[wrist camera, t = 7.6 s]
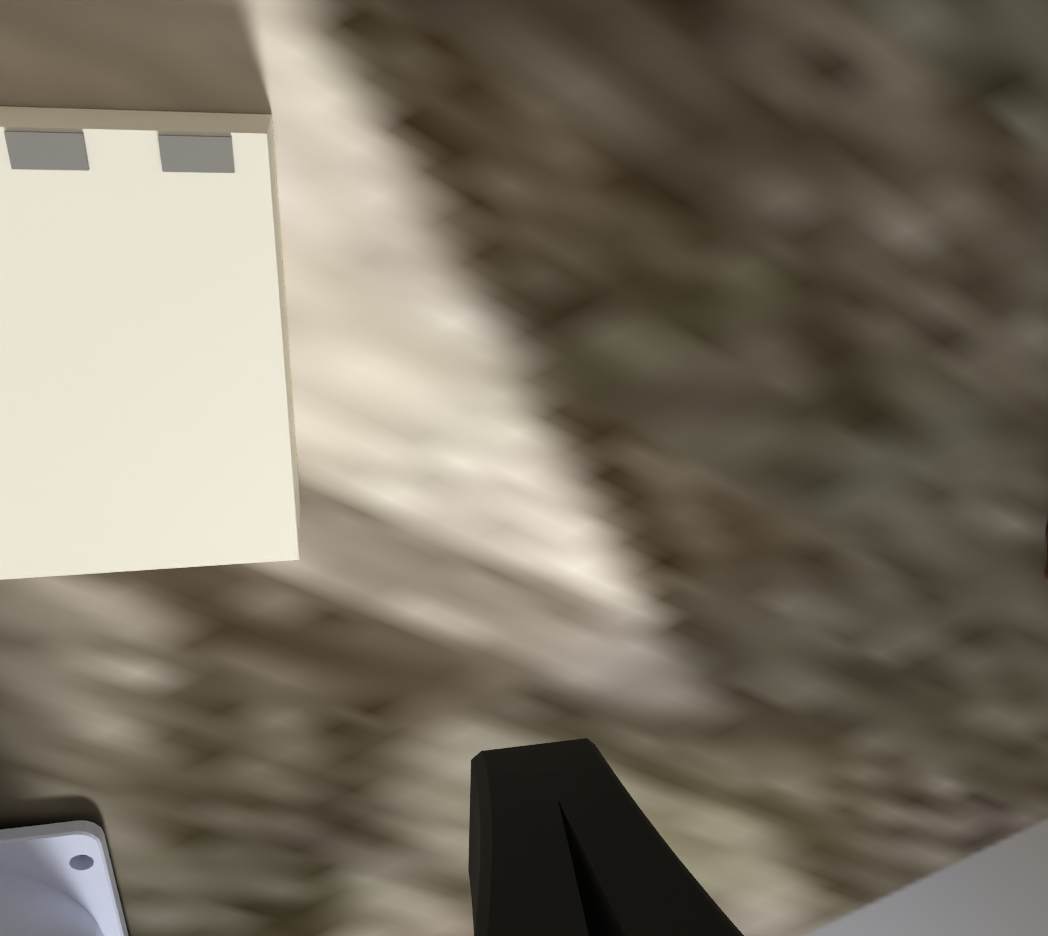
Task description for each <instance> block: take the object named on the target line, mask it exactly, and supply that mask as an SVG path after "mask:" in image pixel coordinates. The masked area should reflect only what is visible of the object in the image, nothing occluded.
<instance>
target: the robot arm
mask: <svg viewBox="0 0 1048 936" xmlns="http://www.w3.org/2000/svg"><path fill="white" fill-rule="evenodd" d="M80 855H87V856H80ZM469 877H470V886H471V896H472V908H473V923H474V936H744V935H743V934H742V933H741V932H740V931H739V930H738V929H737V927H736V926H735V925H734V924H733V923H732V922H731V920H730V919H729V918H728V917H727V916H726V915H725V914H724V912H723V911H722V910H721V909H720V908H719V907H718V905H717V904H716V903H715V902H714V901H713V899H712V898H711V897H710V896H709V895H708V893H707V892H706V891H705V890H704V889H703V887H702V886H701V885H700V884H699V883H698V881H697V880H696V879H695V878H694V877H693V875H692V874H691V873H690V872H689V871H688V869H687V868H686V867H685V866H684V864H683V863H682V862H681V861H680V860H679V858H678V857H677V856H676V855H675V853H674V852H673V851H672V850H671V848H670V847H669V846H668V845H667V843H666V842H665V841H664V839H663V838H662V837H661V836H660V834H659V833H658V832H657V830H656V829H655V828H654V826H653V825H652V824H651V822H650V821H649V820H648V818H647V817H646V816H645V815H644V813H643V812H642V811H641V809H640V808H639V807H638V805H637V804H636V802H635V801H634V800H633V798H632V797H631V796H630V794H629V793H628V792H627V790H626V789H625V787H624V786H623V785H622V783H621V782H620V780H619V779H618V778H617V776H616V775H615V773H614V772H613V770H612V769H611V768H610V766H609V765H608V763H607V762H606V760H605V759H604V757H603V756H602V754H601V753H600V751H599V750H598V748H597V747H596V745H595V744H593V743H592V742H591V741H590V740H588V739H587V738H585V739H577V740H569V741H561V742H552V743H544V744H536V745H527V746H519V747H511V748H503V749H494V750H486V751H481V752H480V753H479V754H478V755H476V756H475V757H474V758H473V759H472V760H471V789H470V829H469ZM0 936H128V932H127V927H126V923H125V919H124V915H123V911H122V907H121V902H120V898H119V894H118V890H117V886H116V881H115V877H114V873H113V869H112V865H111V860H110V856H109V852H108V848H107V844H106V840H105V835H104V832H103V830H102V829H101V827H99V826H98V825H97V824H95V823H93V822H89V821H70V822H61V823H53V824H44V825H36V826H27V827H19V828H10V829H2V830H0Z"/></svg>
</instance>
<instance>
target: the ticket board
mask: <svg viewBox="0 0 1048 936" xmlns="http://www.w3.org/2000/svg"><path fill="white" fill-rule="evenodd" d="M299 536H300V496H299V482H298V468H297V454H296V440H295V426H294V412H293V399H292V385H291V371H290V357H289V343H288V329H287V315H286V301H285V287H284V273H283V260H282V246H281V232H280V218H279V204H278V190H277V176H276V162H275V148H274V134H273V121H272V115H270V114H237V113H204V112H171V111H138V110H105V109H72V108H39V107H6V106H0V580H2V579H17V578H32V577H47V576H62V575H77V574H92V573H107V572H122V571H137V570H152V569H167V568H182V567H197V566H212V565H227V564H242V563H257V562H272V561H287V560H299Z"/></svg>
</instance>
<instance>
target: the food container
mask: <svg viewBox="0 0 1048 936" xmlns="http://www.w3.org/2000/svg"><path fill="white" fill-rule="evenodd" d="M1045 576H1046V579H1047V581H1048V525H1047V528H1046V548H1045Z"/></svg>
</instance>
